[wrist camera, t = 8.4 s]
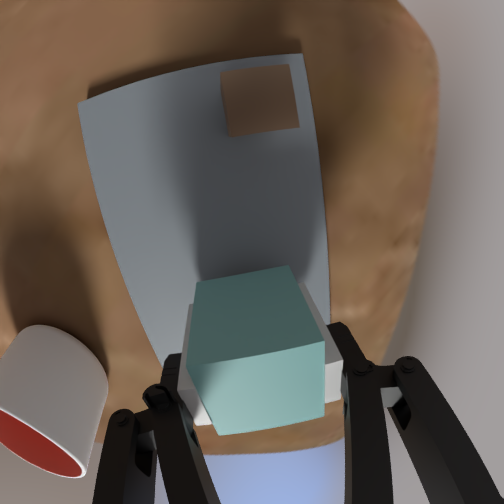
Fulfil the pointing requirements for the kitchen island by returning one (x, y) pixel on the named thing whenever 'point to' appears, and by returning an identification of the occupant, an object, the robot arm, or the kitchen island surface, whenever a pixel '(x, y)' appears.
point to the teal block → (256, 352)
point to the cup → (51, 400)
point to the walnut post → (258, 100)
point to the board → (203, 192)
